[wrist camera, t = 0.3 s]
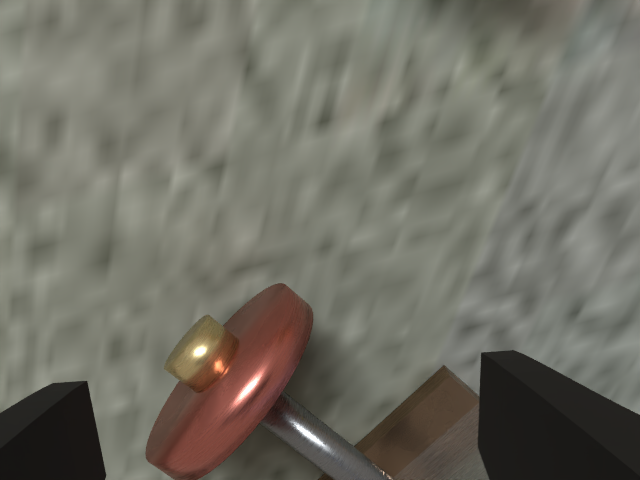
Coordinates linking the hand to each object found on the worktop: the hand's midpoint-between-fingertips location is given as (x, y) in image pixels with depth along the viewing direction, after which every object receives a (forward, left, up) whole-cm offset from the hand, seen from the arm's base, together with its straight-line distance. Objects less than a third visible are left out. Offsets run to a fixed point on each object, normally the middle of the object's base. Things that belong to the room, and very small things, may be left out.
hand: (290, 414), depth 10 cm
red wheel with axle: (-6, +3, -9) cm, 12 cm away
